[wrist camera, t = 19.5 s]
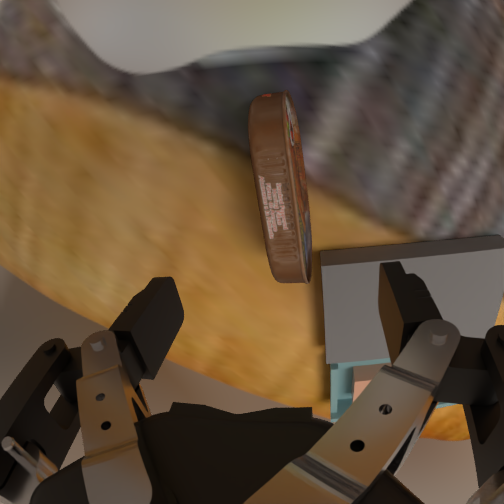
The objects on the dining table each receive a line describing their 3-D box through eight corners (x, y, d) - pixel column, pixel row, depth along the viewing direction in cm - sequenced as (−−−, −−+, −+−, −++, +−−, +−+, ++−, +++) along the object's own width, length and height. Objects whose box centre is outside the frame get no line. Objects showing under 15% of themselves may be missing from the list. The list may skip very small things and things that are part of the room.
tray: (476, 327, 32) (488, 348, 28) (459, 380, 36) (466, 401, 32) (329, 346, 35) (331, 371, 32) (330, 399, 40) (330, 422, 36)
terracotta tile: (393, 362, 34) (397, 377, 32) (388, 388, 36) (391, 402, 34) (353, 366, 35) (354, 381, 33) (351, 392, 37) (352, 407, 35)
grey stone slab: (499, 234, 26) (513, 247, 24) (480, 325, 31) (489, 340, 29) (319, 251, 30) (321, 266, 28) (325, 345, 35) (326, 363, 33)
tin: (313, 253, 31) (315, 305, 23) (280, 256, 31) (273, 307, 24) (293, 91, 24) (290, 86, 17) (256, 96, 25) (237, 93, 18)
